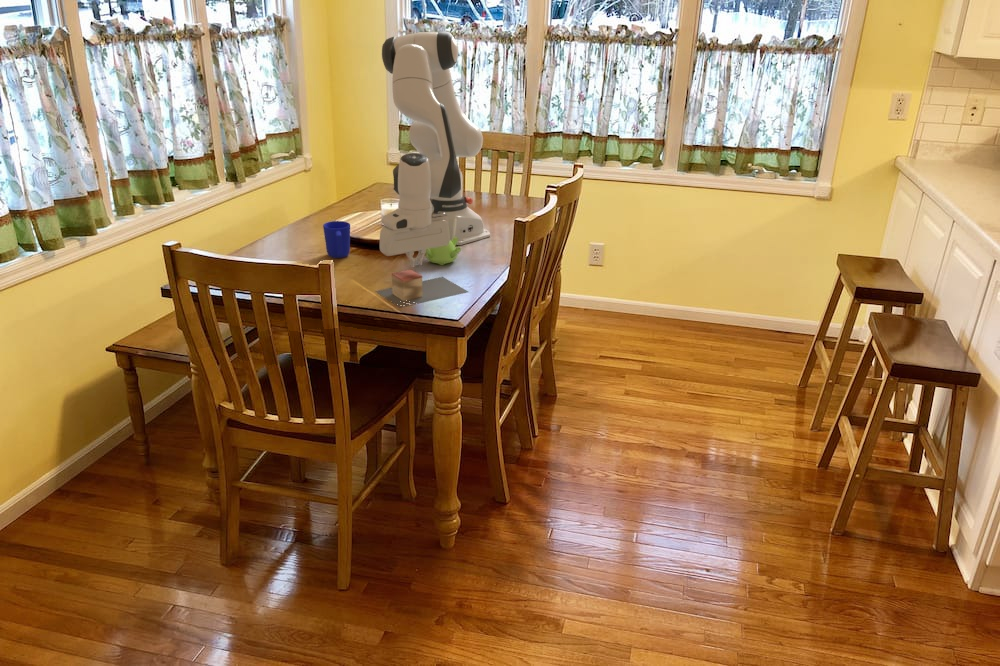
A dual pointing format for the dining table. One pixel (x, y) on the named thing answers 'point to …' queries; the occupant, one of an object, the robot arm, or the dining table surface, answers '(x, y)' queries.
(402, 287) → the cube
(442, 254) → the teapot
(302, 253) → the dining table surface
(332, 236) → the mug
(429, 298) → the mat
